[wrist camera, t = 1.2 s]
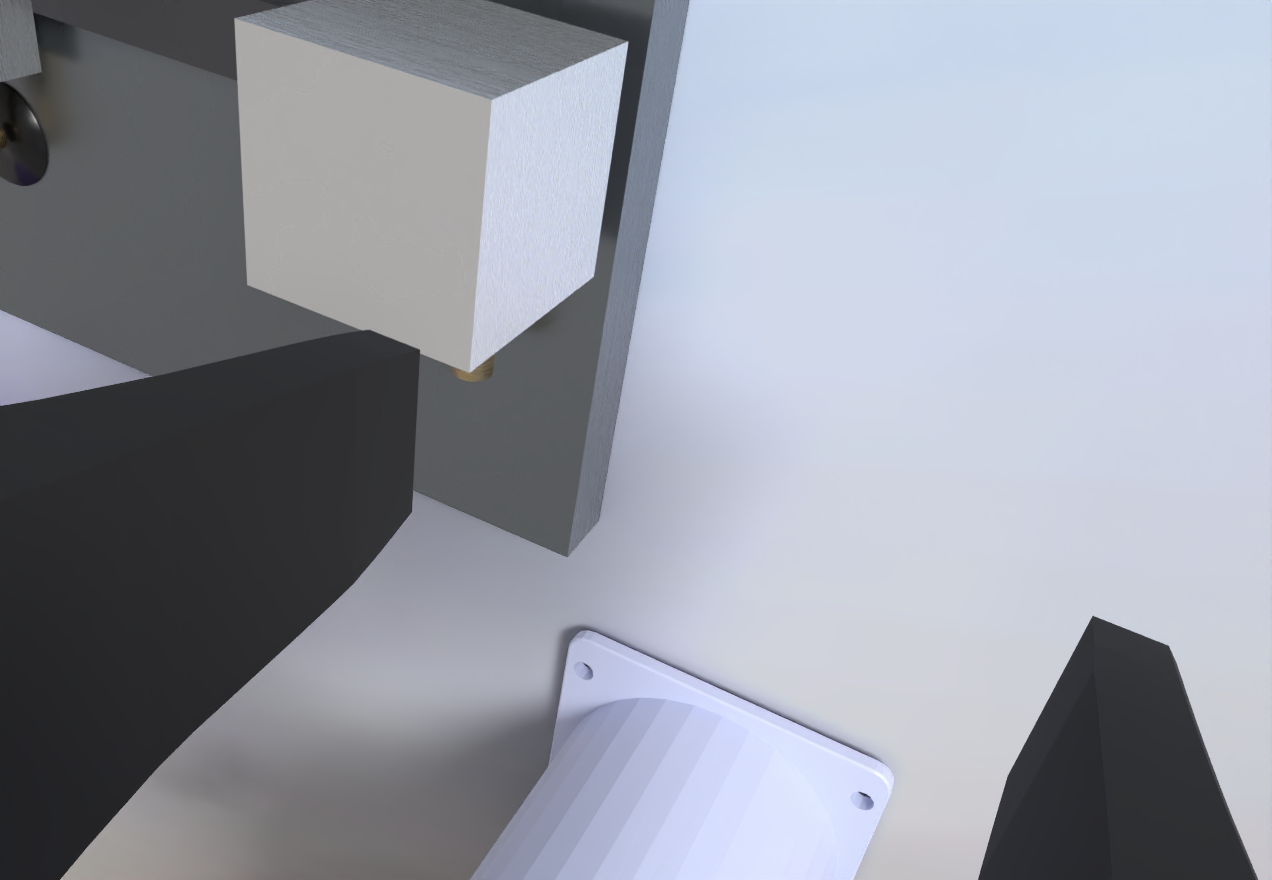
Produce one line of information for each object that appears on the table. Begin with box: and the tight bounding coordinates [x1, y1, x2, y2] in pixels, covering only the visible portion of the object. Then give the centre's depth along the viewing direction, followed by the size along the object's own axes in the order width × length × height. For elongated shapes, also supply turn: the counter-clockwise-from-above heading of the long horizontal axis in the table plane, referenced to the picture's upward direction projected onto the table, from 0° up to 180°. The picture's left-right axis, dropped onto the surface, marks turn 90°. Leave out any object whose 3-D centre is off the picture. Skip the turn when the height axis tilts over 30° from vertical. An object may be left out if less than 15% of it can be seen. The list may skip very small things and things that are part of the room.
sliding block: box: [234, 0, 629, 382], centre depth 18 cm, size 6×4×4 cm, turn 170°
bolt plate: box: [0, 0, 689, 557], centre depth 21 cm, size 14×18×6 cm
